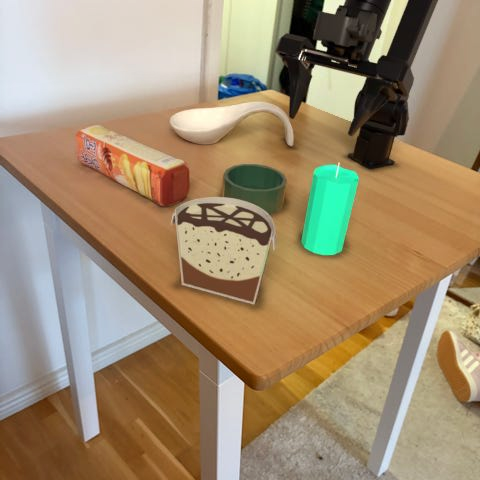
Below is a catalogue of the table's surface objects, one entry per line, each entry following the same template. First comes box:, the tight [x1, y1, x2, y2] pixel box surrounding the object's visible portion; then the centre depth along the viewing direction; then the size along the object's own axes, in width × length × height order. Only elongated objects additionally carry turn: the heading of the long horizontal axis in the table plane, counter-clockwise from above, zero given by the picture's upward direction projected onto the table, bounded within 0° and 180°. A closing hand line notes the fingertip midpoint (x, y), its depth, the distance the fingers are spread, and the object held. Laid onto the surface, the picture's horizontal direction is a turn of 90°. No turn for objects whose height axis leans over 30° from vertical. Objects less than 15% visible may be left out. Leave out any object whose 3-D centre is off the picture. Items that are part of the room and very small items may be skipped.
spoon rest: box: [169, 100, 295, 147], centre depth 100 cm, size 24×12×7 cm, turn 95°
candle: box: [300, 161, 360, 256], centre depth 71 cm, size 6×6×12 cm
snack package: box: [75, 124, 191, 208], centre depth 83 cm, size 21×7×7 cm, turn 48°
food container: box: [170, 196, 278, 306], centre depth 63 cm, size 12×6×10 cm, turn 71°
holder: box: [221, 163, 288, 215], centre depth 82 cm, size 10×10×4 cm
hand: (319, 126), depth 74 cm, fingers open, 9 cm apart
